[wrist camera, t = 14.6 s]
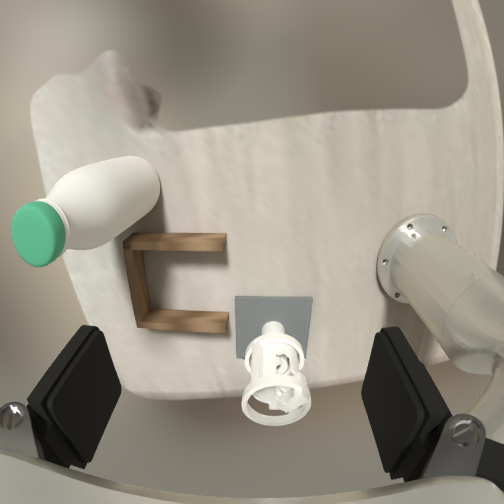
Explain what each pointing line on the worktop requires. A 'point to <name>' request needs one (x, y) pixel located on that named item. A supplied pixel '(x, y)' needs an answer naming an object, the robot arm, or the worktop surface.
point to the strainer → (276, 376)
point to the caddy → (138, 284)
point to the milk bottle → (85, 209)
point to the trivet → (271, 318)
